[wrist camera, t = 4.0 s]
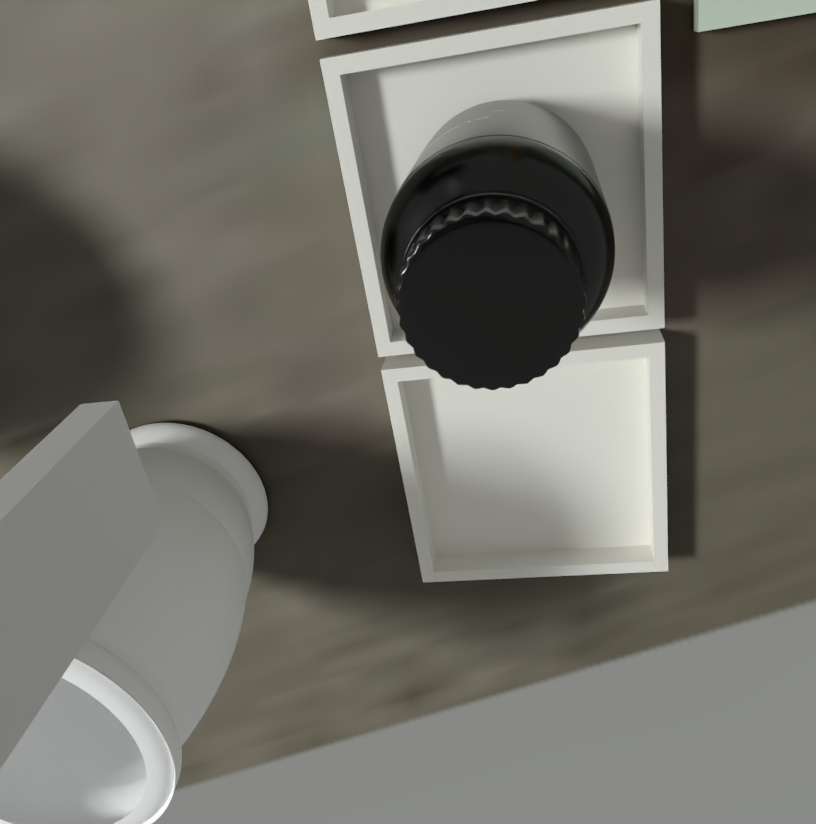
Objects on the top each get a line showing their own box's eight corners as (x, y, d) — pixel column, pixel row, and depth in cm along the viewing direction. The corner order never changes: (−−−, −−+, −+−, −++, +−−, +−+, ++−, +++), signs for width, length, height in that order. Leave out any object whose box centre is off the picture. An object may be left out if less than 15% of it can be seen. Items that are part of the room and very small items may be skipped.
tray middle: (327, 56, 28) (319, 59, 27) (653, -2, 26) (660, -1, 25) (383, 343, 33) (378, 357, 32) (658, 314, 31) (664, 328, 30)
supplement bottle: (452, 66, 28) (413, 112, 17) (627, 140, 28) (692, 228, 18) (388, 241, 31) (322, 369, 21) (545, 304, 32) (559, 461, 21)
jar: (296, 420, 36) (169, 667, 23) (285, 589, 41) (177, 871, 28) (74, 382, 36) (-175, 603, 23) (91, 554, 41) (-106, 815, 28)
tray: (385, 356, 34) (380, 370, 33) (659, 328, 32) (665, 342, 30) (426, 563, 39) (423, 582, 38) (663, 551, 37) (668, 570, 36)
